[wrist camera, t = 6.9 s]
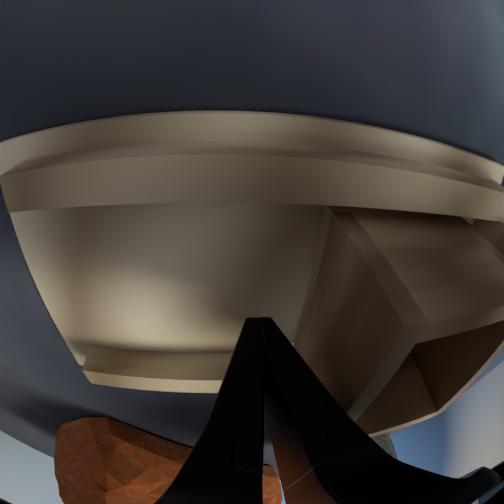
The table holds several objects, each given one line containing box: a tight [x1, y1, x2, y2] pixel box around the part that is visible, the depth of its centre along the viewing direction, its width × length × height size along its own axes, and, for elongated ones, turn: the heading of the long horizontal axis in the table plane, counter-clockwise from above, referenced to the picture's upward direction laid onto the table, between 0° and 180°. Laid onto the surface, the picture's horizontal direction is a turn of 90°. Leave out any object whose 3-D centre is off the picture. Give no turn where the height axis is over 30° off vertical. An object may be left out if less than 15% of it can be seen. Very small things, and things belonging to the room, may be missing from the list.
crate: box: [294, 205, 504, 437], centre depth 9 cm, size 6×7×5 cm
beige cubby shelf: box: [0, 110, 504, 393], centre depth 10 cm, size 20×12×3 cm, turn 87°
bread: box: [54, 417, 283, 504], centre depth 22 cm, size 16×27×11 cm, turn 37°
